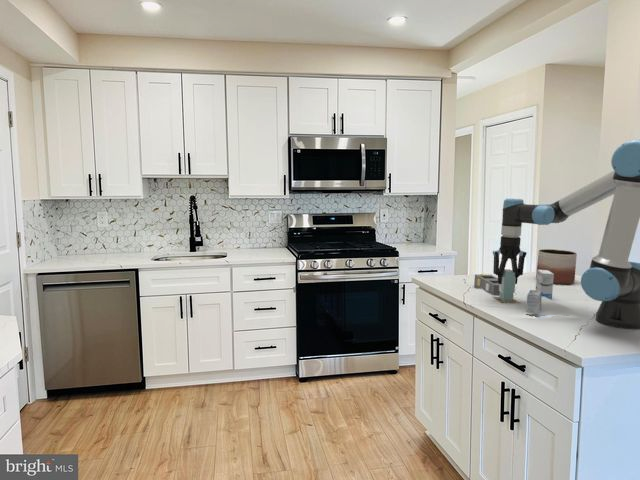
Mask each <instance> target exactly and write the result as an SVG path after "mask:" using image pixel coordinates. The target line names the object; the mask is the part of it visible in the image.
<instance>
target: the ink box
mask: <svg viewBox="0 0 640 480" xmlns="http://www.w3.org/2000/svg"><path fill="white" fill-rule="evenodd" d="M536 272H537V278H536V280H535V290H536V291H542V297H545V298H546V299H548V300H553V288H554V284H553V279H554V274H553V273H551V272H550V271H548V270H537V269H536Z"/></svg>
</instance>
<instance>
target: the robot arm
mask: <svg viewBox="0 0 640 480" xmlns="http://www.w3.org/2000/svg"><path fill="white" fill-rule="evenodd" d="M611 167H612V169H613V170H612V171H610V172H608V173H606V174H604V175H603V176H601V177H599V178H598V179H595V180H594V181H592V182H590V183H588V184H586V185H584V186H582V187H581V188H579V189H577V190H575V191H573V192H571V193H570V194H568V195H566V196H564V197H562V198H560V199H558V200H556V201H555V202H553V203H549V204H526V203H524V199H522V198H505V199H504V200H503V206H502V221H501V229H500V230H501V231H500V232H501V235H502V236H500V247H499V249H496V250H493V251H492V255H493V268H492V271H493V273H492V274H494V275H495V276H497V278H498V281H497V282H498V284H499V291H500V292H503V290H504V277H503V273H504V269H506V266H507V262H508V261H509V260H510V262H511V263H510V264H511V270H512V272H514V273H515V280H514V293H516V292H515V291H516V290H515V289H516V285H517V284H518V278H519V277H520V276H523V274H524V267H525V266H524V265H525V258H526V257H527V252H526V251H523V250H521V248H520V247H521V241H522V240H521V239H522V237H521V236H522V228H523V227H522V225H523V224H529V225H530V224H531V225H532V224H533V225H538V226H542V225H543V226H544V225H545V226H548V225H549V226H550V224H559V223H563V222H565V221H566V220H567V219H568V218H569V217H570V216H572V215H575V214H576V213H578V212H581V211H582V210H583V211H584V210H585V209H587V208H589V207H590V206H594V205H595V204H598V203H599V202H602V201H603V200H605V199H607V198H609V197H611V196H613V198H612V201H611V205H610V209H609V213H608V216H607V220H606V224H605V229H604V232H603V236H602V239H601V243H600V247H599V250H598V254H596V255H595V256H592V258H591V262H590V266H589V267H588V269H587V270H585V271H584V272H583V273H582V275H581V278H580V285H581V289H582V290H583V291H584V293H585V295H587V296H588V297H589V298H591V299H592V300H594V301H598V302H601V303H600V305H599V307H598V309H597V311H596V313H595V321H596V322H598V323H601V324H603V325H606V326H610V327H614V328H619V329H627V330H629V329H630V330H640V262H634V261H629V259H630V255H631V250H632V247H633V243H634V241H635V237H636V233H637V229H638V225H639V222H640V139H632V140H629V141H625V142H623V143H622V144H621V145H619V146H618V147H617V148H616V149H615V150H614V151H613V154H612V157H611ZM500 254H501V258H500ZM517 257H518V258H517ZM500 259H501V260H500Z"/></svg>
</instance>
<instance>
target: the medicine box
mask: <svg viewBox="0 0 640 480" xmlns="http://www.w3.org/2000/svg"><path fill="white" fill-rule="evenodd" d="M542 298H543V296H542V291H536V289H535V290H534V289H533V290H532V289H530V290H529V291H528V293H527V295H526V308H525V312H526V314H525V316H527V315H529V316H528V317H533V316H535V317H534V318H539V317H540V313H541V310H542V301H543V299H542ZM530 313H531V314H530Z"/></svg>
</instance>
